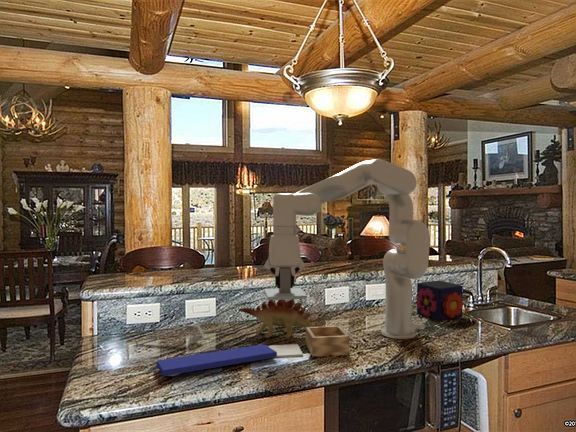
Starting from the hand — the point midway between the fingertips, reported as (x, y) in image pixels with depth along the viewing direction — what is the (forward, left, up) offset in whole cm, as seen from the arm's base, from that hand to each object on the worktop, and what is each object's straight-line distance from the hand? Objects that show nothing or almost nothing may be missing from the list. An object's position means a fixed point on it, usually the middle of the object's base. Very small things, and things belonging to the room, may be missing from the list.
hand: (284, 286), depth 143 cm
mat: (0, 0, -21) cm, 21 cm away
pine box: (-14, 0, -21) cm, 26 cm away
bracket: (+38, -14, -22) cm, 46 cm away
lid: (0, 0, -3) cm, 3 cm away
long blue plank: (+21, +8, -21) cm, 31 cm away
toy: (-2, -18, -22) cm, 28 cm away
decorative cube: (-72, -35, -22) cm, 83 cm away
